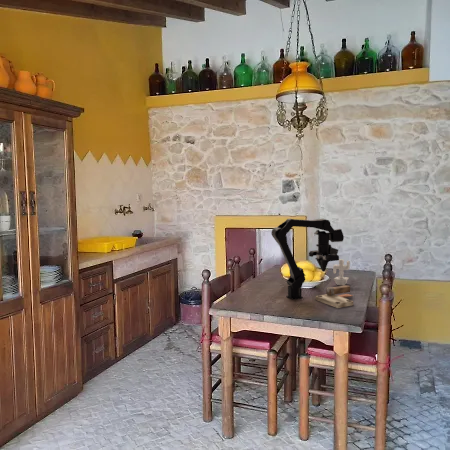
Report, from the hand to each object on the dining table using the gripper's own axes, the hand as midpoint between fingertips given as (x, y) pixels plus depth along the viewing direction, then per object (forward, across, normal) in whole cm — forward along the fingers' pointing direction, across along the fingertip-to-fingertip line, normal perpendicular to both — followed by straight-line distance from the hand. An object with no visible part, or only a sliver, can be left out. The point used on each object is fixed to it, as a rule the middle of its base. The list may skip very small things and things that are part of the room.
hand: (323, 271), depth 233 cm
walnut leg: (+11, -7, -4) cm, 13 cm away
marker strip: (+13, -7, -7) cm, 16 cm away
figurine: (+13, +14, -24) cm, 31 cm away
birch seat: (+13, -14, +4) cm, 19 cm away
